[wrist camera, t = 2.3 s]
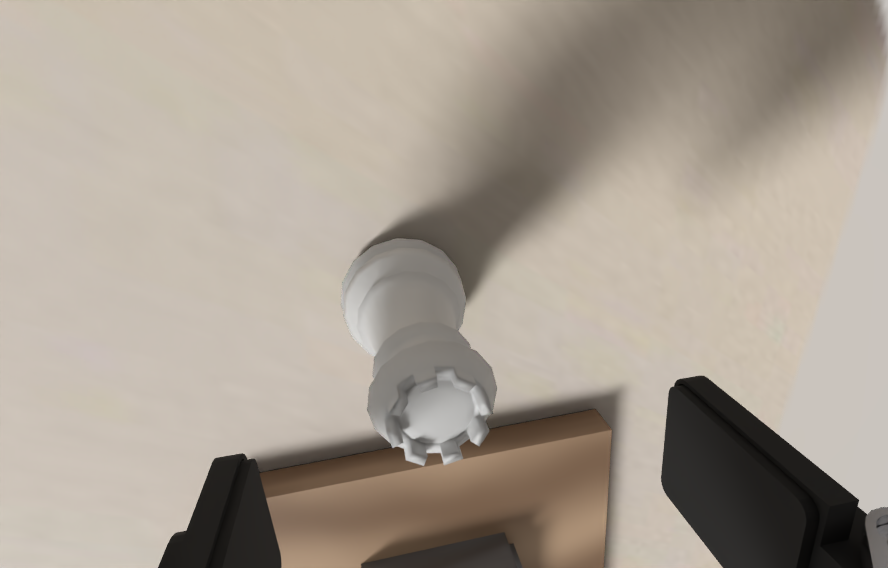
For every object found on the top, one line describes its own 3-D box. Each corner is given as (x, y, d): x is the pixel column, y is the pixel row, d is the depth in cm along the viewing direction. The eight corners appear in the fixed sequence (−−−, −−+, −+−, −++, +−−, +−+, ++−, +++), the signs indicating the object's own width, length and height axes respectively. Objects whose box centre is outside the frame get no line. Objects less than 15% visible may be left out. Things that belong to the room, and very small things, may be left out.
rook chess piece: (348, 352, 20) (356, 514, 12) (331, 241, 18) (328, 353, 11) (462, 335, 20) (532, 479, 13) (456, 226, 19) (532, 322, 11)
